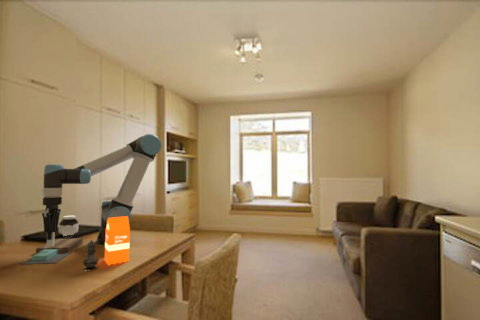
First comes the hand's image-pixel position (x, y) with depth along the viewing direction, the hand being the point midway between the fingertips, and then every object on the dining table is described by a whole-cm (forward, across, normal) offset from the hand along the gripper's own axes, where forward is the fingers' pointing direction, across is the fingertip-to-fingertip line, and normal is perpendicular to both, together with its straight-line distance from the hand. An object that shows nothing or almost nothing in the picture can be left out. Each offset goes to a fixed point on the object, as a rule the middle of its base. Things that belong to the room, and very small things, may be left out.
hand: (50, 246), depth 130 cm
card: (+3, +3, 0) cm, 4 cm away
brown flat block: (+4, -11, 0) cm, 12 cm away
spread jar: (+5, -40, -8) cm, 41 cm away
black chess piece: (+5, +21, +25) cm, 33 cm away
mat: (+4, +5, +1) cm, 7 cm away
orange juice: (+5, +12, +33) cm, 35 cm away
